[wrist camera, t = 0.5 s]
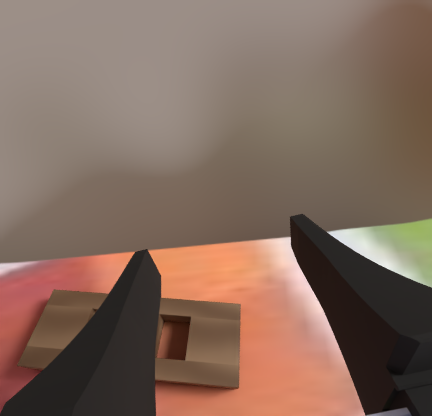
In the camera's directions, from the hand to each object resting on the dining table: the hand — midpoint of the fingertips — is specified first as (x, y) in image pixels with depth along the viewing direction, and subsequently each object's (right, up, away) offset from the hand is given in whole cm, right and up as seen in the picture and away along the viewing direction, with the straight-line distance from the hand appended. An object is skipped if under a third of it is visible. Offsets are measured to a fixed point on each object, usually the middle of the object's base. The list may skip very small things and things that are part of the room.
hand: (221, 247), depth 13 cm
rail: (-8, -12, +14) cm, 20 cm away
